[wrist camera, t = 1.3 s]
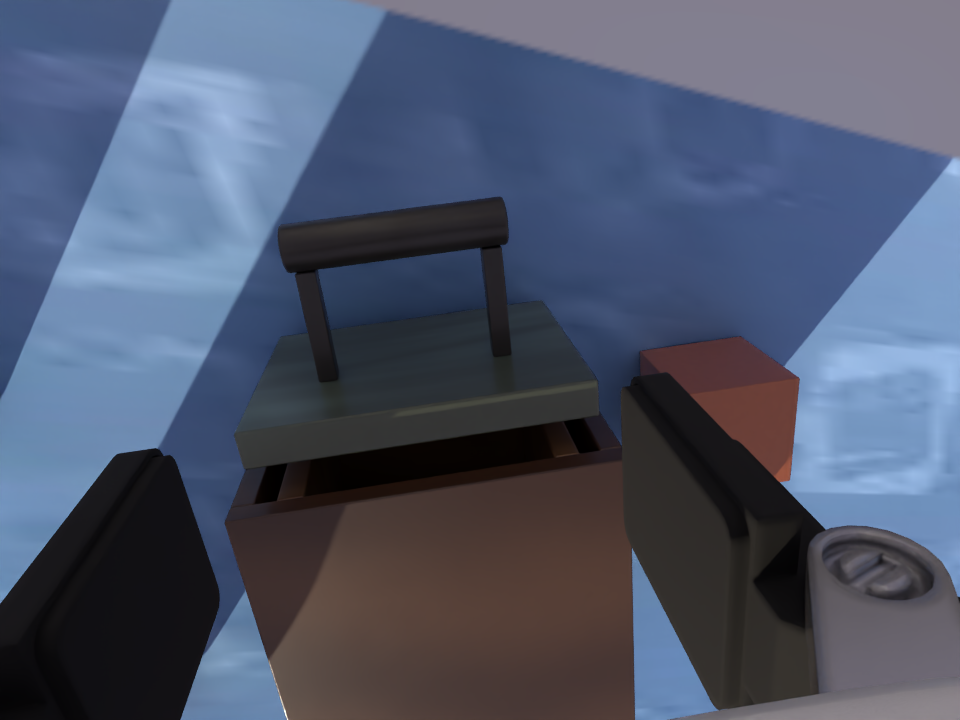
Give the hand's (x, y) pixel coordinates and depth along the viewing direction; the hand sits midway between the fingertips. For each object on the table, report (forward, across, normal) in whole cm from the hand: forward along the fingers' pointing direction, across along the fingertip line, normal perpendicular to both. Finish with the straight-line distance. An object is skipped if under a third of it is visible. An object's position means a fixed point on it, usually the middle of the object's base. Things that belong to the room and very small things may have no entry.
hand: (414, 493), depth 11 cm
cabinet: (+16, 0, +11) cm, 19 cm away
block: (+16, -12, +7) cm, 21 cm away
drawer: (+15, 0, +6) cm, 16 cm away
